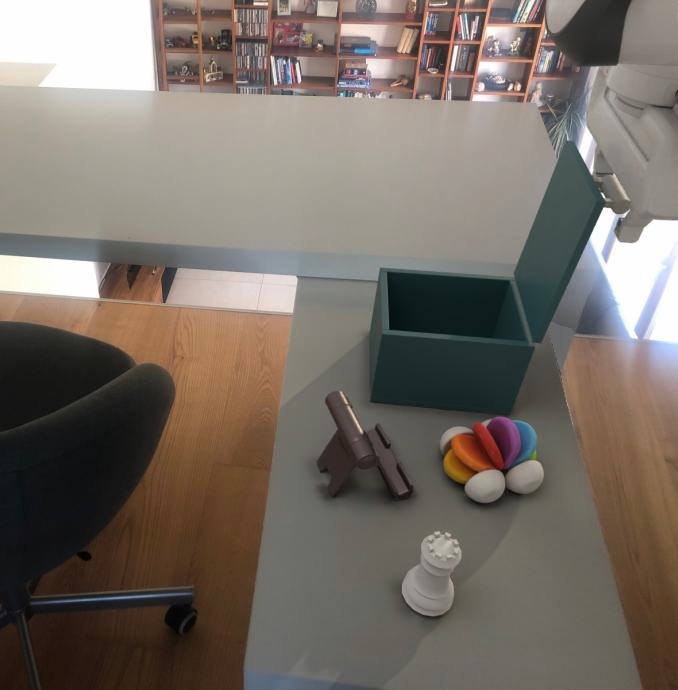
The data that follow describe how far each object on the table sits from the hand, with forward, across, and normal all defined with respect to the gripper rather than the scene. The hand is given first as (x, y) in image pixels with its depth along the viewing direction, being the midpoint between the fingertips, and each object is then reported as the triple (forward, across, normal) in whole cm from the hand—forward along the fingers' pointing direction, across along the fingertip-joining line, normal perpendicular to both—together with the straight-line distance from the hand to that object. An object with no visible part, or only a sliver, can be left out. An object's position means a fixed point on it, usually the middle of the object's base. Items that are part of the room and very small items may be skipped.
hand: (610, 213), depth 67 cm
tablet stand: (+23, -17, +22) cm, 36 cm away
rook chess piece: (+23, -30, +16) cm, 41 cm away
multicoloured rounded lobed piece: (+23, -15, +9) cm, 29 cm away
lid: (+4, 0, +5) cm, 6 cm away
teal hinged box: (+23, 0, +13) cm, 26 cm away
